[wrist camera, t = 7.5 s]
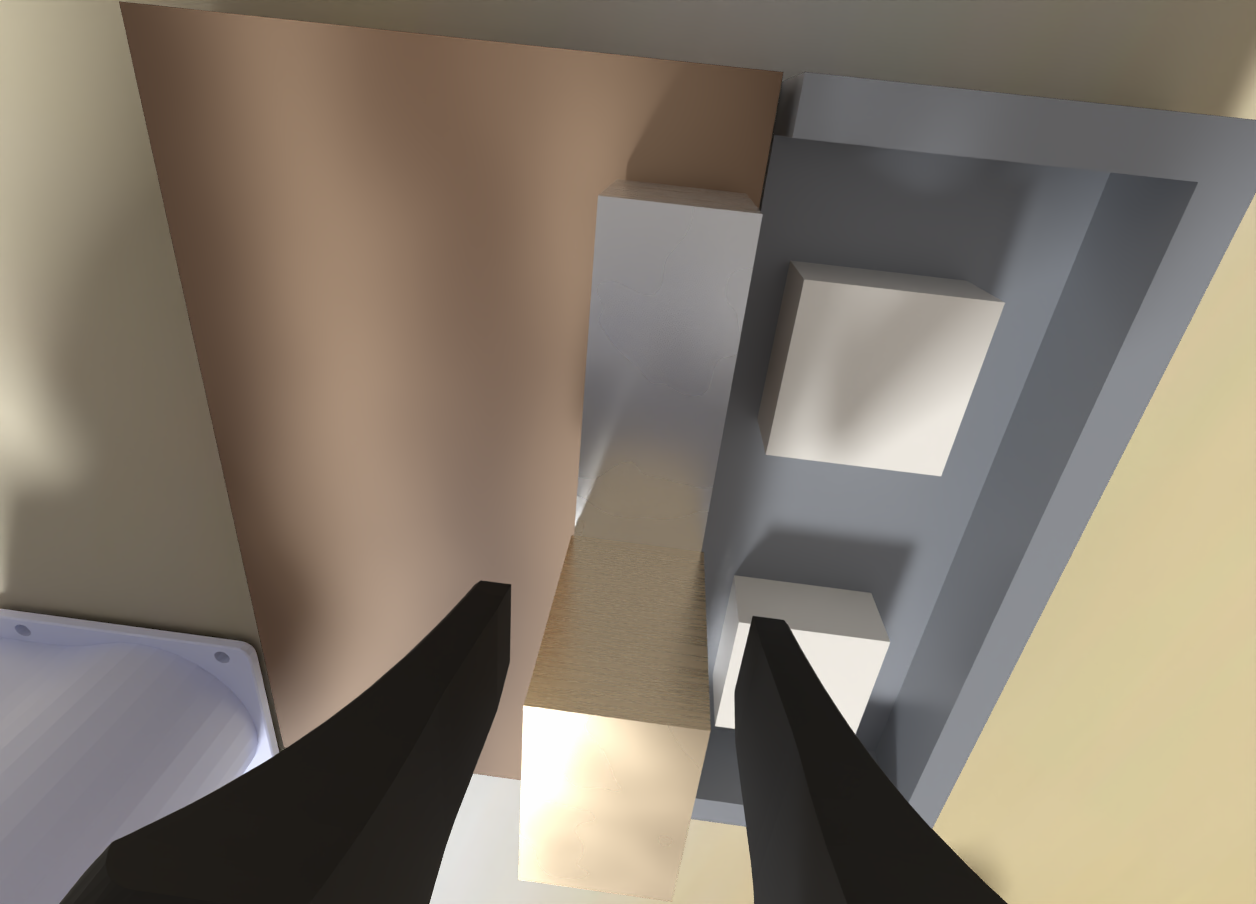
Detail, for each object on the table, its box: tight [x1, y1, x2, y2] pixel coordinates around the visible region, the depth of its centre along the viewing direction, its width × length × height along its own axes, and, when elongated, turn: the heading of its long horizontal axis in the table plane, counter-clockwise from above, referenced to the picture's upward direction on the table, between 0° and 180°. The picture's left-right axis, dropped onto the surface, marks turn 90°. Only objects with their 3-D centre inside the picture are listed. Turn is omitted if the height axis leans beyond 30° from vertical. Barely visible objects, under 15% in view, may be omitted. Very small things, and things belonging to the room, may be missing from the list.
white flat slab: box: [518, 179, 763, 902], centre depth 13 cm, size 2×16×7 cm, turn 174°
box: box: [691, 72, 1256, 828], centre depth 17 cm, size 8×20×3 cm, turn 174°
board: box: [119, 2, 783, 780], centre depth 17 cm, size 12×20×2 cm, turn 174°
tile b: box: [757, 261, 1005, 476], centre depth 15 cm, size 4×4×2 cm
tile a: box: [713, 575, 890, 734], centre depth 19 cm, size 4×4×2 cm
